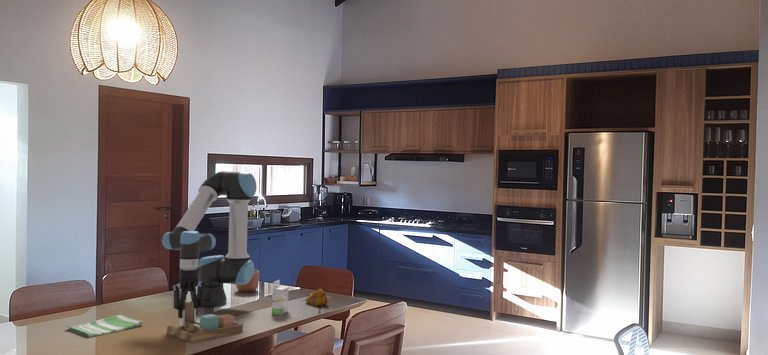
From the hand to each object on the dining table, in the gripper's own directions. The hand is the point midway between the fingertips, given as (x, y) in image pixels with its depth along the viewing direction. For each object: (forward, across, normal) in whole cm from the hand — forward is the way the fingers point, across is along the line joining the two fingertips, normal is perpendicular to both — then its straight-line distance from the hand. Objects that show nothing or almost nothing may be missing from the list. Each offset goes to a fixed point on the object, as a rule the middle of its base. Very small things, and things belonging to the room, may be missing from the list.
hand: (187, 324), depth 244 cm
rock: (+1, +68, -5) cm, 69 cm away
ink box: (+1, +43, -7) cm, 44 cm away
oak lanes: (+1, 0, -13) cm, 13 cm away
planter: (+1, +61, +43) cm, 75 cm away
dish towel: (+1, -25, +20) cm, 32 cm away
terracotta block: (+1, +7, -16) cm, 18 cm away
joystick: (+1, 0, -8) cm, 8 cm away
